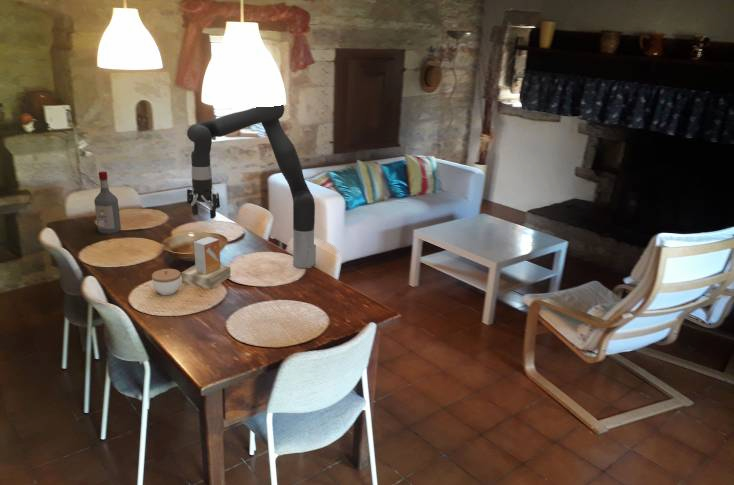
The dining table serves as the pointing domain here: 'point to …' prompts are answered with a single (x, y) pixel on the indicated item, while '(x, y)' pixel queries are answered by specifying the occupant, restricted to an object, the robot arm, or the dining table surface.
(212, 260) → the small box
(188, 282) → the birch plinth
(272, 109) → the robot arm
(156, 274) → the lidded jar
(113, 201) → the liquor
